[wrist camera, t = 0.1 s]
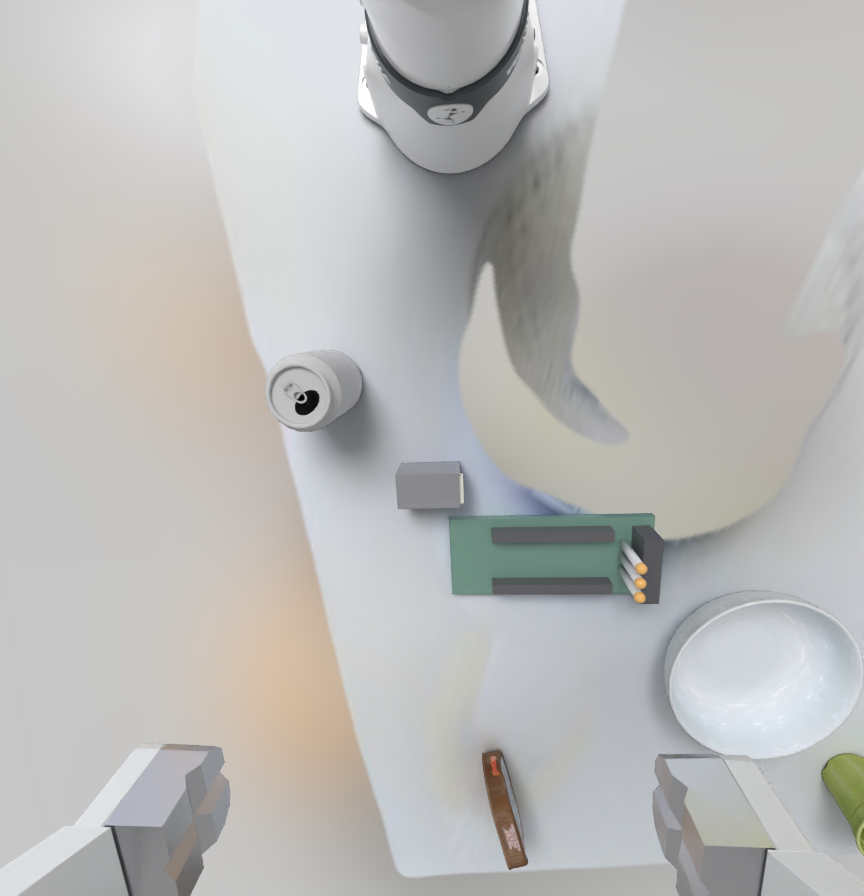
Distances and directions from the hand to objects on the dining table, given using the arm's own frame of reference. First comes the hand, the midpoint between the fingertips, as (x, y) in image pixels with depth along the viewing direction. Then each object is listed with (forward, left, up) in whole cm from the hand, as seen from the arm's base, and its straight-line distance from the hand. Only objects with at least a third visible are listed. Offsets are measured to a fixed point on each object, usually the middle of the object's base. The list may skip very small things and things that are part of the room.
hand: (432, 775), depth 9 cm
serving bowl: (+32, +33, -48) cm, 67 cm away
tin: (+54, +4, -48) cm, 73 cm away
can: (-3, -15, -48) cm, 50 cm away
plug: (+9, -4, -48) cm, 49 cm away
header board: (+19, +10, -48) cm, 53 cm away
